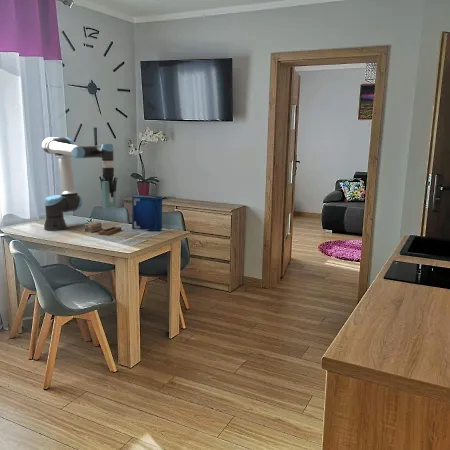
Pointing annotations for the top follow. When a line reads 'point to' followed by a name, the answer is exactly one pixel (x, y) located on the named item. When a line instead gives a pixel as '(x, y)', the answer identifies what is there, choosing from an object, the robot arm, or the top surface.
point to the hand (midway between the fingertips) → (109, 201)
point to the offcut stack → (93, 227)
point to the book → (147, 212)
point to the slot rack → (110, 231)
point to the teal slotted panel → (107, 196)
